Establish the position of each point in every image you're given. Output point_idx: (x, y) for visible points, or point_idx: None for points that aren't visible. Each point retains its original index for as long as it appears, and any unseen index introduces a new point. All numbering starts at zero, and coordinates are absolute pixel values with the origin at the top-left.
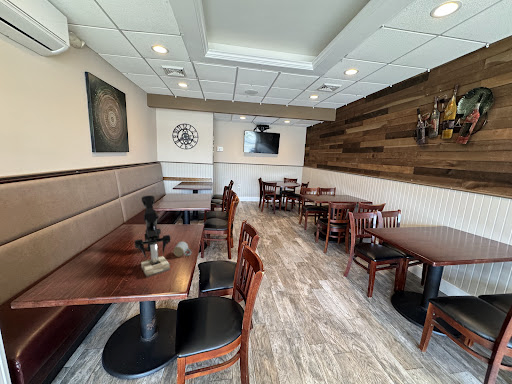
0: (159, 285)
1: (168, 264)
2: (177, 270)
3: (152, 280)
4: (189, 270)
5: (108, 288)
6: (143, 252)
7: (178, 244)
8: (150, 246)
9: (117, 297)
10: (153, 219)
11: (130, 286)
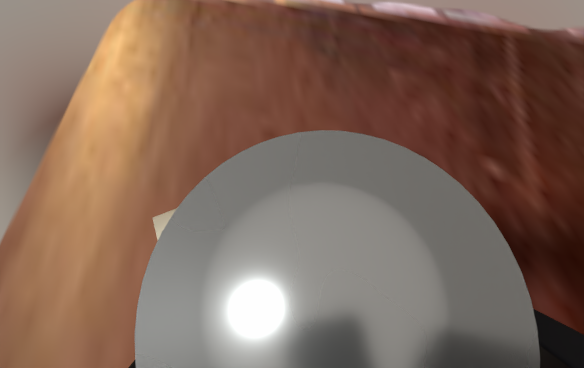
0: (253, 57)
1: (166, 217)
2: (126, 203)
3: (303, 117)
4: (41, 176)
5: (570, 102)
6: (563, 327)
7: None
8: (446, 210)
9: (459, 14)
10: None
11: (430, 88)
